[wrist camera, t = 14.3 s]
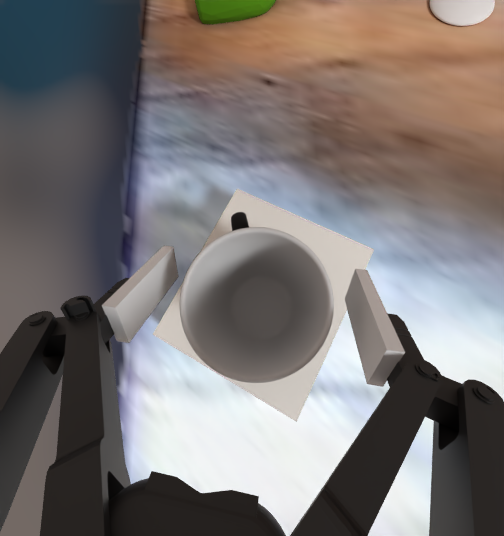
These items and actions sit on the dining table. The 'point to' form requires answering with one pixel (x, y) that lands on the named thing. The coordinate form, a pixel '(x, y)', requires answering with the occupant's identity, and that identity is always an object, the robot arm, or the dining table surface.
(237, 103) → the dining table surface
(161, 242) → the dining table surface
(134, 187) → the dining table surface
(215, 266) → the mug
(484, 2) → the wineglass
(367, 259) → the flat plate
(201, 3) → the spray bottle
